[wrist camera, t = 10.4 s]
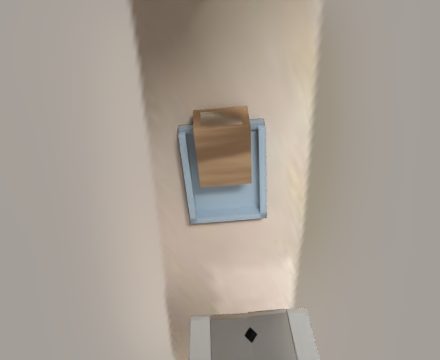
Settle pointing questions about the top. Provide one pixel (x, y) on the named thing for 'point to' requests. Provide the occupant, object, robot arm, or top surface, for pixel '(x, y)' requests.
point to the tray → (229, 194)
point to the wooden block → (223, 146)
